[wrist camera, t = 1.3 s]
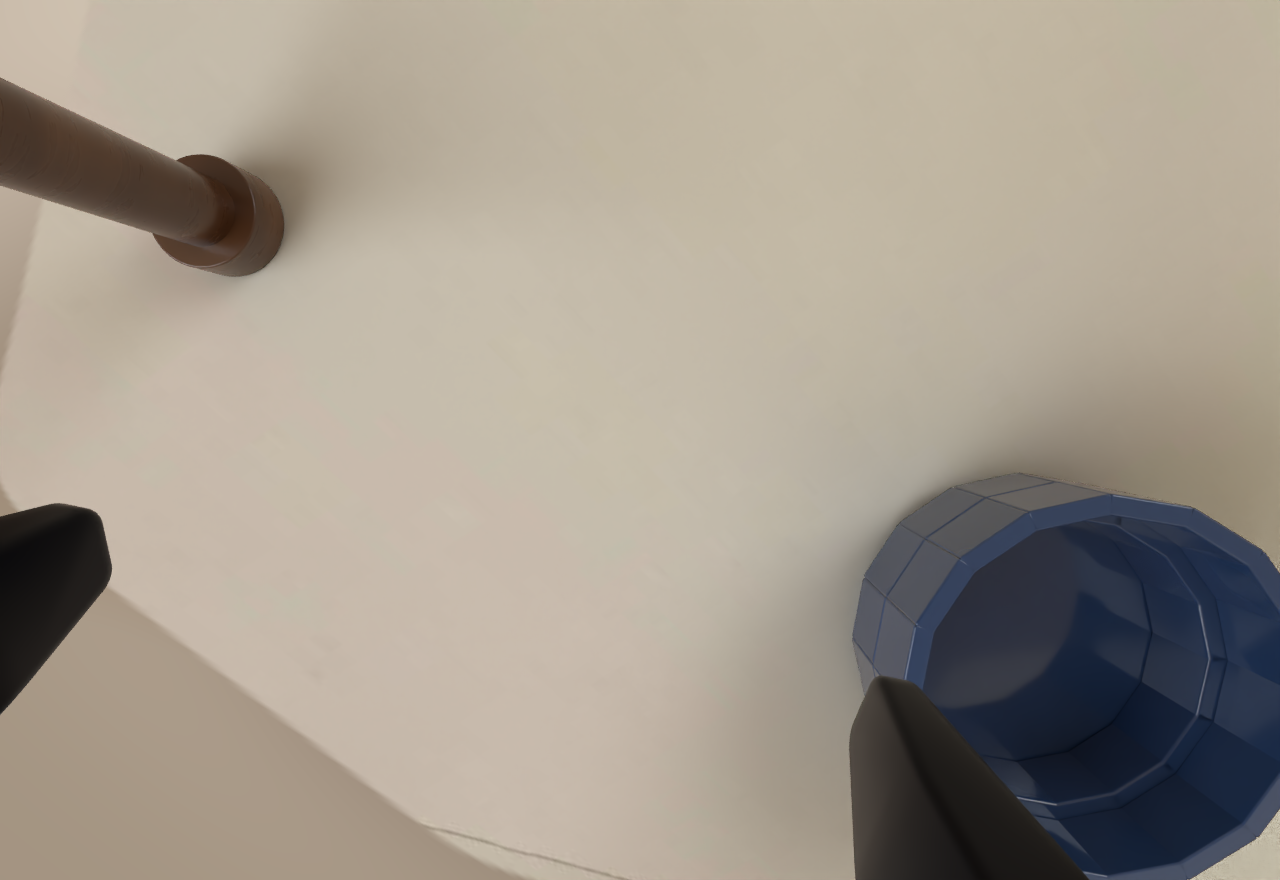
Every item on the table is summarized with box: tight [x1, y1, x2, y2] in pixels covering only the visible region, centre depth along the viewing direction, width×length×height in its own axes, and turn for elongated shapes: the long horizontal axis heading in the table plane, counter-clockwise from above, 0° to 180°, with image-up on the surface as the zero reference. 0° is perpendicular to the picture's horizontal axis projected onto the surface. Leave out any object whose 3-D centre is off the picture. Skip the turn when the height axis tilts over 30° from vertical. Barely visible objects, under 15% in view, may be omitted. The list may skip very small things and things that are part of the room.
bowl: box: [852, 473, 1280, 880], centre depth 19 cm, size 9×9×5 cm
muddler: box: [0, 78, 284, 277], centre depth 14 cm, size 3×3×14 cm
